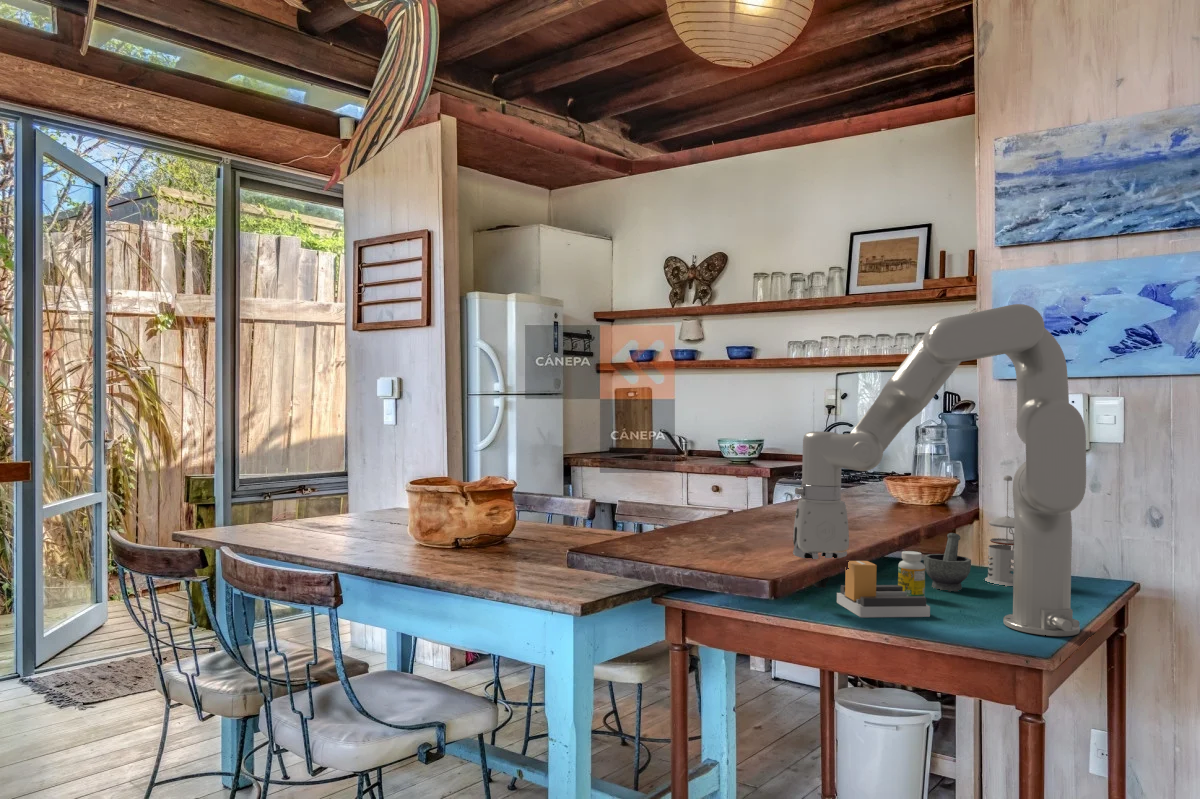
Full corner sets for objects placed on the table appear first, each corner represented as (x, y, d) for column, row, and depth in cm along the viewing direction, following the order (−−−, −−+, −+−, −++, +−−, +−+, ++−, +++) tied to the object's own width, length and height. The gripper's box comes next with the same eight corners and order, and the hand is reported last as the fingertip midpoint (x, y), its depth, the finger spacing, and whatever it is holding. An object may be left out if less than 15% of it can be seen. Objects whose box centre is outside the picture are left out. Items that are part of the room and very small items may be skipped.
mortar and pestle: (962, 595, 186) (963, 540, 186) (918, 589, 191) (919, 535, 191) (976, 587, 195) (977, 534, 195) (933, 581, 200) (934, 529, 200)
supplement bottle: (930, 599, 181) (930, 554, 181) (908, 601, 179) (909, 555, 179) (913, 594, 186) (914, 549, 186) (892, 595, 184) (893, 550, 184)
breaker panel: (929, 616, 166) (930, 598, 166) (860, 617, 165) (860, 598, 165) (901, 602, 178) (902, 584, 178) (836, 602, 177) (837, 585, 177)
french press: (976, 581, 200) (978, 474, 200) (995, 575, 208) (997, 472, 208) (1020, 589, 193) (1022, 478, 193) (1038, 582, 201) (1040, 475, 201)
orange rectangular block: (875, 600, 169) (876, 564, 169) (853, 600, 169) (854, 564, 169) (866, 595, 174) (867, 560, 174) (845, 595, 173) (845, 560, 173)
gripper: (790, 495, 166) (788, 590, 166) (865, 496, 167) (863, 590, 167) (778, 491, 173) (776, 582, 173) (850, 492, 175) (848, 582, 175)
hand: (819, 586), depth 170 cm, fingers closed
